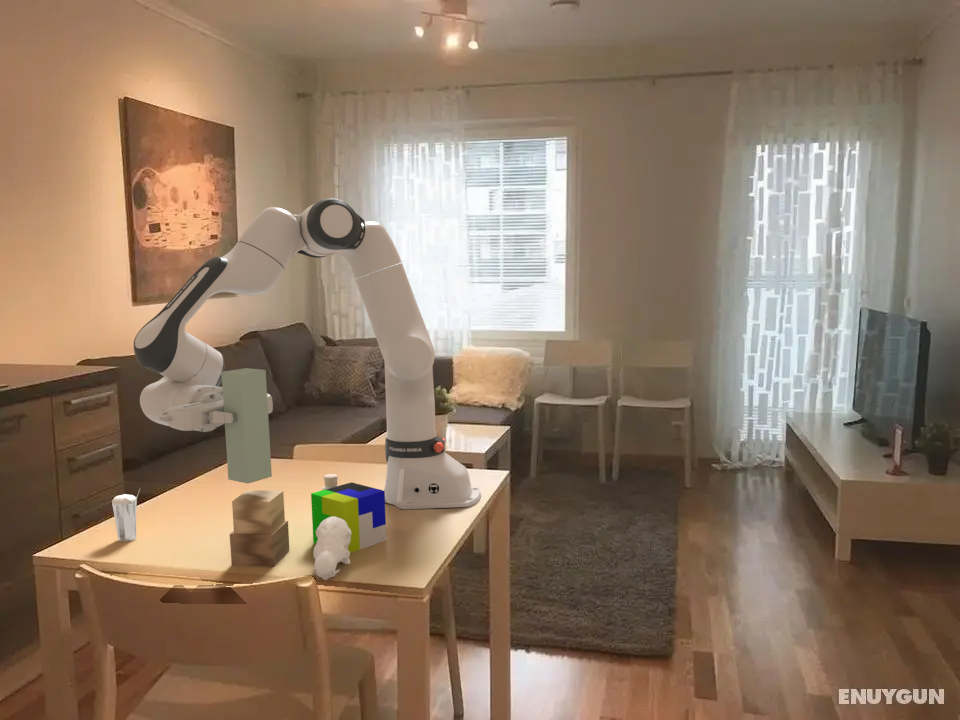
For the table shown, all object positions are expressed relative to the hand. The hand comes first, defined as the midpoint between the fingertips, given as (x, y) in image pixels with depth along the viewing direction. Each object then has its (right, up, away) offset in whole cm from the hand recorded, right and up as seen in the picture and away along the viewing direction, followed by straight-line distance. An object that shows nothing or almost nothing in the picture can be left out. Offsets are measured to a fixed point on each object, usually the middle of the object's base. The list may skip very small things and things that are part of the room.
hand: (249, 414), depth 151 cm
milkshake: (-28, -26, +15) cm, 41 cm away
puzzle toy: (+17, -26, +11) cm, 32 cm away
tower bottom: (+1, -27, +3) cm, 27 cm away
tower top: (+1, -21, +2) cm, 21 cm away
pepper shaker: (+12, -25, +19) cm, 33 cm away
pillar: (0, -12, +2) cm, 12 cm away
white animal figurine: (+16, -28, -4) cm, 32 cm away
